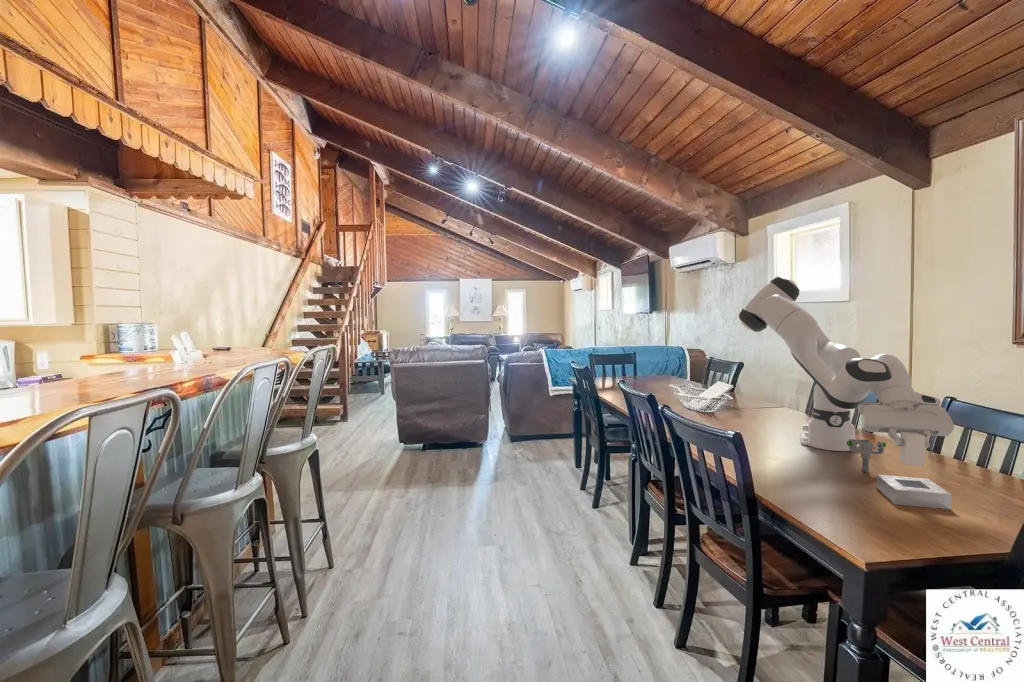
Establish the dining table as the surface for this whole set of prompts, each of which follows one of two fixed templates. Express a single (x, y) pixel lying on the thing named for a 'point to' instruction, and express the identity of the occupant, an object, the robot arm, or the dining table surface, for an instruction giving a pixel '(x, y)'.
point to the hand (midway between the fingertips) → (913, 446)
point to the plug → (912, 449)
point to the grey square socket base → (913, 491)
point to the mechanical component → (866, 450)
